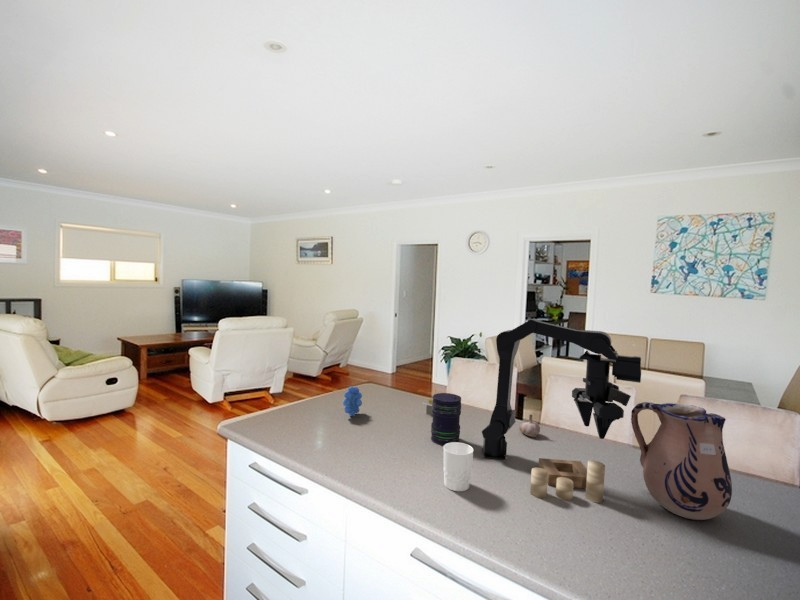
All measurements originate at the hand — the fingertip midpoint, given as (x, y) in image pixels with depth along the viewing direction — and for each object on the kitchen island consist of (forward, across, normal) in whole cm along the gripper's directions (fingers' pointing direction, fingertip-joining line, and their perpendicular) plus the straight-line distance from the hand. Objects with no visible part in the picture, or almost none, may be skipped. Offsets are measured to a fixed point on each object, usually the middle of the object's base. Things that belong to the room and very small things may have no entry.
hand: (593, 432), depth 109 cm
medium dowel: (+14, -9, +17) cm, 24 cm away
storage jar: (+14, +23, +39) cm, 47 cm away
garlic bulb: (+14, +32, +8) cm, 36 cm away
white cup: (+14, -7, +38) cm, 42 cm away
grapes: (+14, +41, +74) cm, 85 cm away
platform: (+14, +48, +41) cm, 65 cm away
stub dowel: (+14, -9, +11) cm, 20 cm away
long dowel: (+14, -10, +3) cm, 17 cm away
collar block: (+14, 0, +7) cm, 16 cm away
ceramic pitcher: (+14, -11, -16) cm, 24 cm away
